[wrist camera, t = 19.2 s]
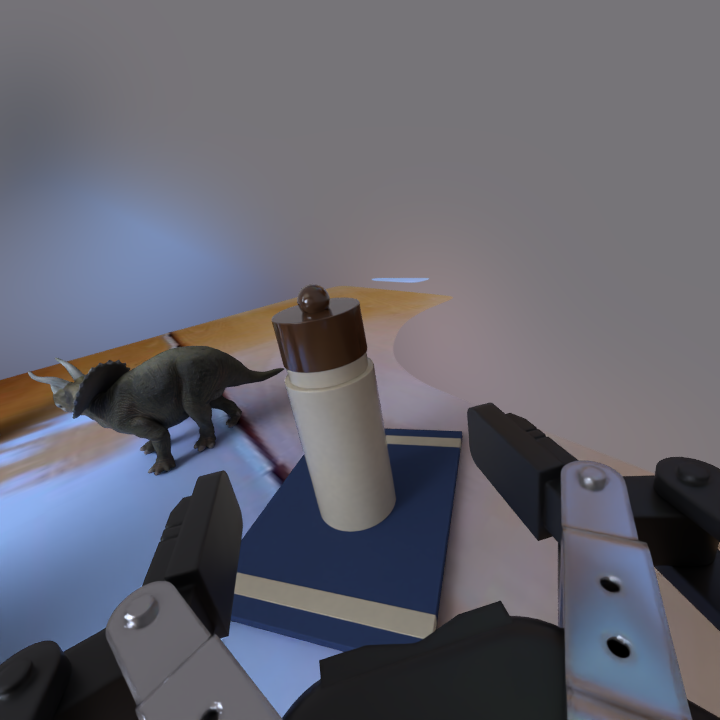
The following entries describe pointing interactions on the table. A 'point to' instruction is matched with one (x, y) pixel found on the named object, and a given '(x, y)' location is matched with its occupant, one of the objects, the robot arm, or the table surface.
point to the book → (354, 555)
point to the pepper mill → (336, 408)
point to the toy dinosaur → (157, 395)
